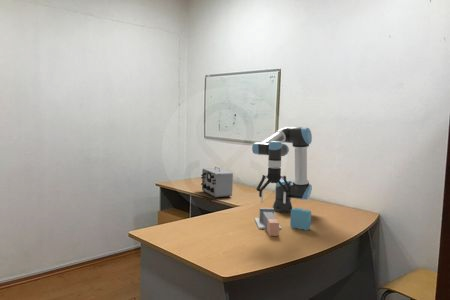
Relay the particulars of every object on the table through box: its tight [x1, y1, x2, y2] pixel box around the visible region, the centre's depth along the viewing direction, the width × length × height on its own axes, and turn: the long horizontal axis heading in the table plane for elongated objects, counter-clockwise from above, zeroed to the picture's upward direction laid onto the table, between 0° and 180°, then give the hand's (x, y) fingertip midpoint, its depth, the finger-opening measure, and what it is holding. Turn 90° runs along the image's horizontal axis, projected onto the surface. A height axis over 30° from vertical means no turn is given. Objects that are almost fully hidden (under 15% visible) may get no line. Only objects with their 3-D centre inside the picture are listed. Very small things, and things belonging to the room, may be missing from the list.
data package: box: [289, 207, 312, 231], centre depth 211 cm, size 12×4×12 cm, turn 58°
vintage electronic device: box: [200, 166, 234, 199], centre depth 301 cm, size 32×18×25 cm, turn 25°
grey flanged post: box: [254, 207, 282, 232], centre depth 215 cm, size 14×24×10 cm, turn 3°
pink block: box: [266, 218, 280, 237], centre depth 199 cm, size 6×8×8 cm
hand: (273, 202), depth 197 cm, fingers open, 13 cm apart
